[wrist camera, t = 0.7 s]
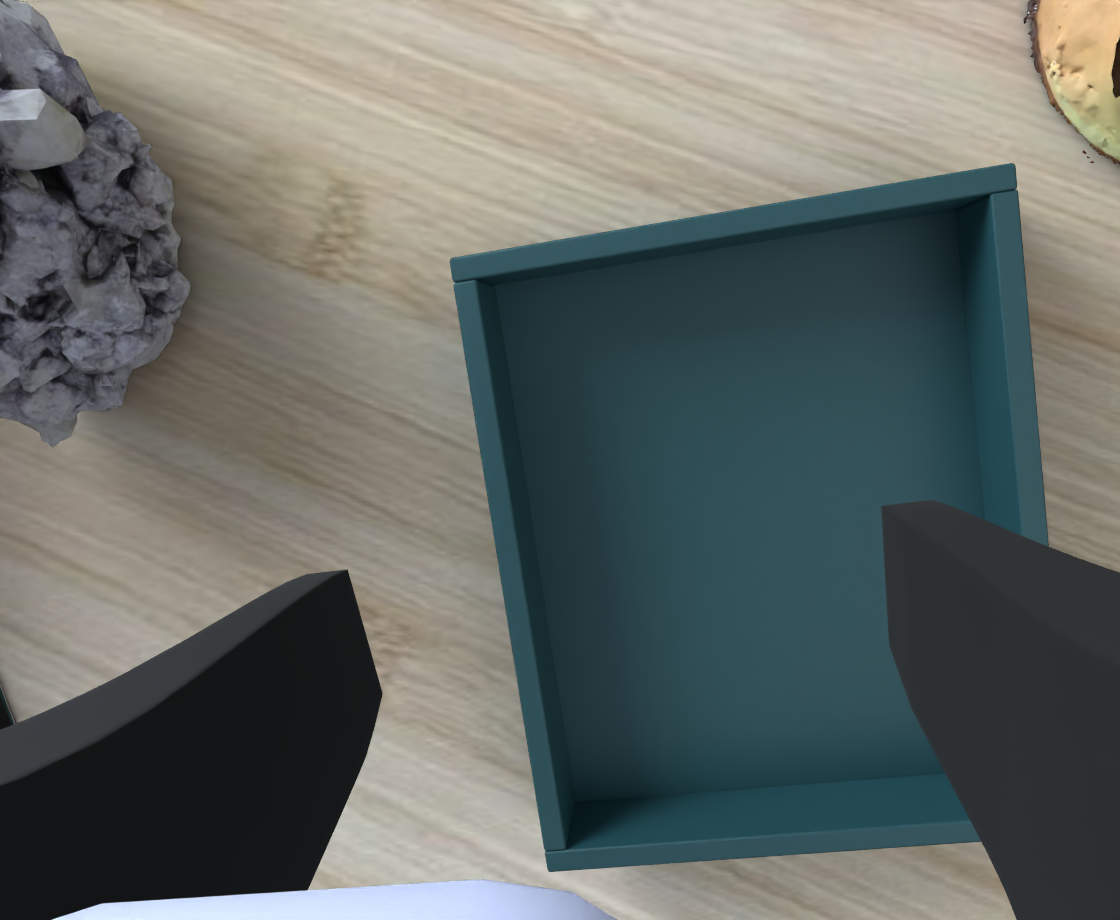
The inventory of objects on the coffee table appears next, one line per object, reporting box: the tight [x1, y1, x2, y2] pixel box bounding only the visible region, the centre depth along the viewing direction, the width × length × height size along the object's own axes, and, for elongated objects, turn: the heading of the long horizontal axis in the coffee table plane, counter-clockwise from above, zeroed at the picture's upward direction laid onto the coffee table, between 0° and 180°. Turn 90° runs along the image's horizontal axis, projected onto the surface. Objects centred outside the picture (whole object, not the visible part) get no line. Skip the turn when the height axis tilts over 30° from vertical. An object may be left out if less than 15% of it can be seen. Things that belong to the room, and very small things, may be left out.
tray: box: [450, 163, 1049, 872], centre depth 23 cm, size 16×13×3 cm
